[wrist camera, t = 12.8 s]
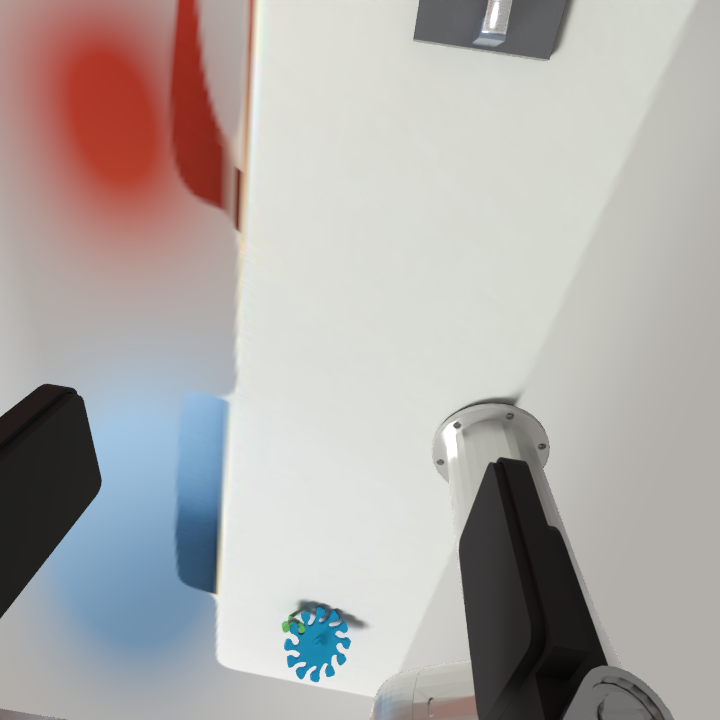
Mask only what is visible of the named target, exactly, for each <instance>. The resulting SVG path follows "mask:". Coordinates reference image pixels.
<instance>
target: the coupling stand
mask: <svg viewBox="0 0 720 720" xmlns="http://www.w3.org/2000/svg"><path fill="white" fill-rule="evenodd" d="M566 1H567V0H419V7H418V13H417V19H416V26H415V32H414V38H413V41H416V42H422V43H429V44H436V45H442V46H449V47H455V48H462V49H469V50H475V51H482V52H488V53H495V54H502V55H508V56H515V57H521V58H528V59H534V60H541V61H547V60H549V59H550V56H551V52H552V49H553V45H554V42H555V38H556V35H557V32H558V28H559V25H560V21H561V18H562V14H563V11H564V7H565V4H566Z"/></svg>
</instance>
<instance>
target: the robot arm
mask: <svg viewBox="0 0 720 720" xmlns="http://www.w3.org/2000/svg"><path fill="white" fill-rule="evenodd" d="M549 448H550V446H549V441H548V437H547V435H546V432H545V430H544V429H543V427H542V425H541V423H540V422H539V421H538V420H537V419H536V418H535V417H534V416H532V415H531V414H530V413H528V412H526V411H525V410H523V409H520V408H518V407H515V406H511V405H506V404H496V403H489V404H480V405H476V406H472V407H468V408H466V409H464V410H461V411H459V412H457V413H456V414H454V415H452V416H451V417H449V418H448V419H447V420H446V421H445V422H444V423H443V424H442V425H441V426H440V428H439V429H438V431H437V432H436V435H435V437H434V439H433V444H432V457H433V463H434V465H435V468H436V470H437V472H438V473H439V474H440V475H441V477H442V478H443V479H444V480H445V481H447V482H448V483H449V485H450V494H451V503H452V512H453V521H454V530H455V539H456V548H457V557H458V566H459V574H460V583H461V590H462V595H463V599H464V604H465V613H466V622H467V630H468V639H469V648H470V656H471V660H465V661H459V662H453V663H446V664H440V665H434V666H427V667H423V668H417V669H412V670H408V671H404V672H401V673H398V674H396V675H394V676H392V677H390V678H389V679H388V680H386V681H385V682H384V683H383V685H382V686H381V687H380V689H379V690H378V692H377V694H376V696H375V699H374V702H373V706H372V710H371V716H370V720H674V719H673V717H672V715H671V713H670V711H669V709H668V708H667V707H666V706H665V704H664V703H663V701H662V700H661V699H660V697H659V696H658V695H657V694H656V693H655V692H654V691H653V690H652V689H651V688H650V687H649V686H648V685H647V684H646V683H645V682H643V681H642V680H641V679H639V678H637V677H636V676H635V675H633V674H631V673H630V672H628V671H625V670H624V668H623V666H622V664H621V662H620V661H619V659H618V657H617V655H616V653H615V651H614V648H613V646H612V645H611V642H610V640H609V638H608V636H607V634H606V632H605V630H604V628H603V626H602V623H601V621H600V618H599V616H598V613H597V611H596V609H595V606H594V604H593V601H592V599H591V596H590V594H589V591H588V589H587V586H586V584H585V581H584V579H583V576H582V573H581V570H580V568H579V565H578V562H577V560H576V558H575V555H574V552H573V549H572V547H571V544H570V541H569V538H568V536H567V533H566V530H565V528H564V525H563V522H562V519H561V517H560V514H559V512H558V508H557V506H556V503H555V500H554V498H553V495H552V492H551V489H550V487H549V484H548V481H547V479H546V476H545V473H544V470H543V468H544V466H545V465H546V462H547V459H548V456H549ZM101 482H102V480H101V475H100V471H99V466H98V461H97V457H96V453H95V448H94V444H93V440H92V435H91V431H90V427H89V422H88V418H87V413H86V409H85V405H84V400H83V398H82V397H81V396H79V395H78V394H77V391H76V390H75V389H73V388H70V387H64V386H58V385H52V384H43V385H42V386H40V387H38V388H37V389H36V390H34V391H33V392H32V393H30V394H29V395H28V396H27V397H25V398H24V399H23V400H22V401H20V402H19V403H18V404H17V405H15V406H14V407H13V408H11V409H10V410H9V411H7V412H6V413H5V414H4V415H2V416H1V417H0V618H1V617H2V616H3V614H4V613H5V612H6V611H7V609H8V608H9V607H10V606H11V604H12V603H13V602H14V600H15V599H16V598H17V597H18V595H19V594H20V593H21V591H22V590H23V589H24V588H25V586H26V585H27V584H28V582H29V581H30V580H31V579H32V577H33V576H34V575H35V573H36V572H37V571H38V570H39V568H40V567H41V566H42V565H43V563H44V562H45V561H46V559H47V558H48V557H49V555H50V554H51V553H52V552H53V551H54V549H55V548H56V546H57V545H58V544H59V543H60V542H61V540H62V539H63V538H64V536H65V535H66V534H67V532H68V531H69V530H70V529H71V527H72V526H73V525H74V524H75V522H76V521H77V520H78V518H79V517H80V516H81V514H82V513H83V512H84V511H85V509H86V508H87V507H88V506H89V504H90V503H91V502H92V500H93V499H94V498H95V497H96V495H97V494H98V492H99V490H100V487H101ZM0 720H65V719H60V718H54V717H48V716H42V715H35V714H29V713H23V712H17V711H10V710H5V709H0Z"/></svg>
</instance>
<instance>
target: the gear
mask: <svg viewBox="0 0 720 720" xmlns="http://www.w3.org/2000/svg"><path fill="white" fill-rule="evenodd" d="M324 615H325V610H324V609H323V608H321V607H317V609H316V618H315V620H314V622H313V623H312V624H311V625H308V621H309V619H310V613H309V612H308V611H307V612H303V613H301V618H302V620H303V621H304V624H303V623H302V622H300V621H299V620H297V619H296V618H293V616H292V615H290V616H289V617H288V619H289V620H288V621H285V622H283V623H282V629H283V631H284V632H288V631H289V630H290V632H291V633H292V634H294V635H296V636H297V637H298V639H299V643H298V644H297V645H294V644H293V643H292V641H291V639H286V641H285V644H284V649H285V650H287V651H289V650H296V651H298V652H299V653H300V655H299V657H294V656H292V655H289V656H287V663H288V667H293V666H294V665H295V664H297V663H299V662H306V665H305V666H304V667H299V668H297V669H296V674H297V676H298V677H299V678H300V679H303V678H304V676H305V674H306V672H307V671H308V670H309V669H310V668H311V667H313V666H317V668H316V670H314V671H313V672H312V673H311V674H310V679H311V680H312V681H313V682H318V681H319V679H320V677H319V673H320V669H321V667H322V666H323V664H324V663H328V666H327V667H326V669H325V673H326V676H327V677H331V676H333V675H334V674H335V671H334V669H333V667H332V665H331V658H332V656H333V655H337V662H338V664H339V665H342V664H343V663H344V662H345V661H346V657H345V655H344V654H342V653H340V652H339V651H338V650H337V648H336V645H337V644H338V643H342V645H343V647H344V648H345V649H348V648H349V646H350V642H351V641H350V639H349V638H347V637H345V638H339V637H337V636H336V635H335V633H336V631H341V632H343V633H346V632H347V630H348V628H347V624H346V622H341V623H340V624H339V625H337V626H333V627H330V626H329V623H330V622H331V621H337V620H338V619H339V616H338V614H337V613H336V612H335V611H334V610H333V611H331V613H330V615H329V617H328V618H327V619H326V620H325V621H323V622H321V623H320V622H319V619H320V618H321V617H323V616H324Z"/></svg>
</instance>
